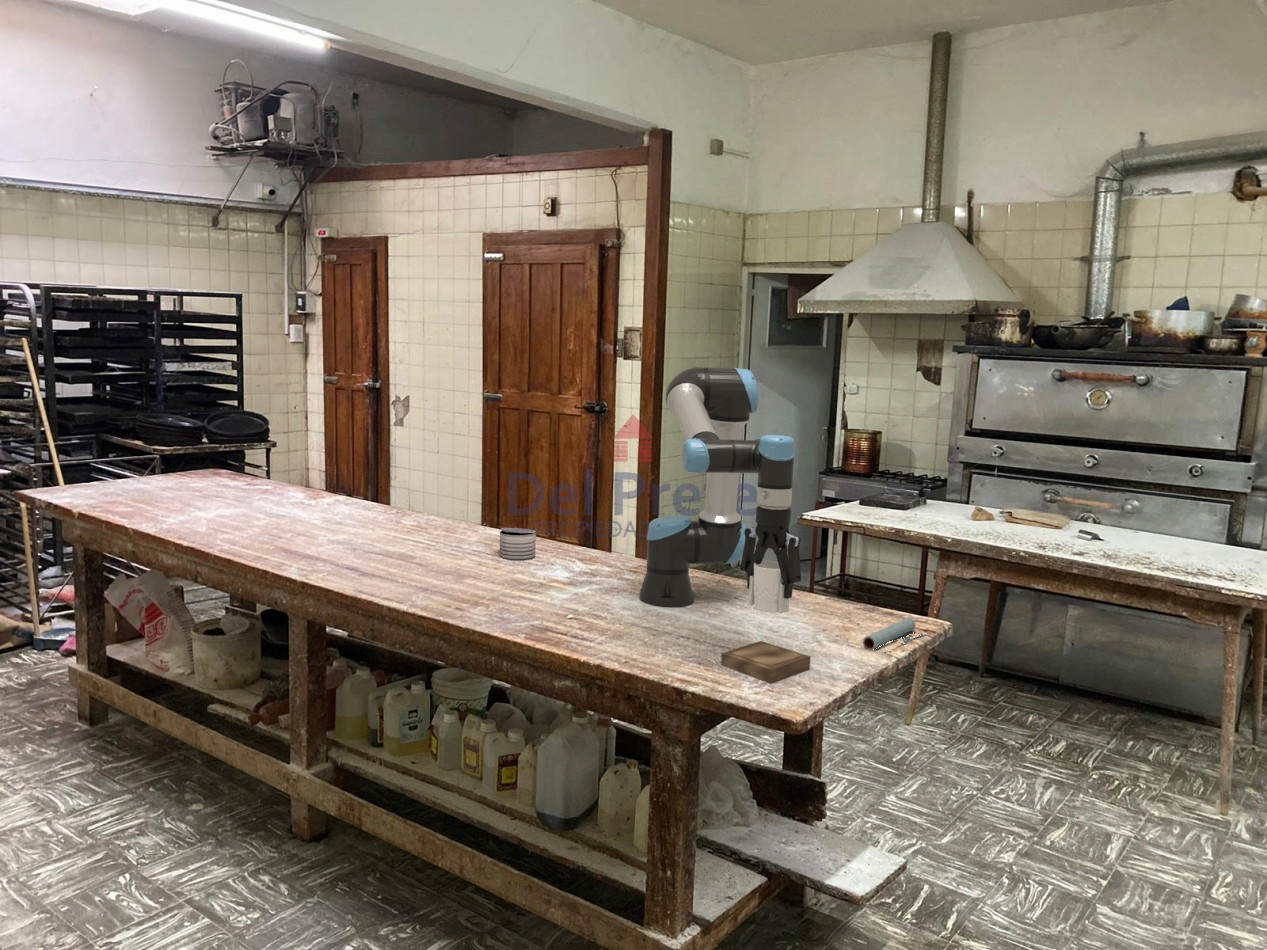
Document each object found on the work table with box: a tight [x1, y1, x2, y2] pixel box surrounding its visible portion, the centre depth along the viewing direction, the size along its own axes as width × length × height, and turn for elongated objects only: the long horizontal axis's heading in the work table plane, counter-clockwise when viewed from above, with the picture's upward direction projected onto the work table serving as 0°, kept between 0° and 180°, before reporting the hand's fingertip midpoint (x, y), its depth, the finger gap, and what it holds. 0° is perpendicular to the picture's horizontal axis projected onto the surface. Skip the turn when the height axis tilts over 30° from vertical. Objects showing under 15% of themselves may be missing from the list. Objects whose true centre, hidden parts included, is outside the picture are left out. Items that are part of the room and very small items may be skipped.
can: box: [498, 527, 537, 562], centre depth 298 cm, size 11×11×12 cm
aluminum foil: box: [862, 617, 927, 651], centre depth 234 cm, size 23×7×3 cm, turn 139°
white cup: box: [753, 560, 783, 614], centre depth 209 cm, size 8×8×10 cm
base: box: [720, 640, 811, 684], centre depth 211 cm, size 14×14×3 cm
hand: (768, 607), depth 209 cm, fingers closed on white cup, 8 cm apart
